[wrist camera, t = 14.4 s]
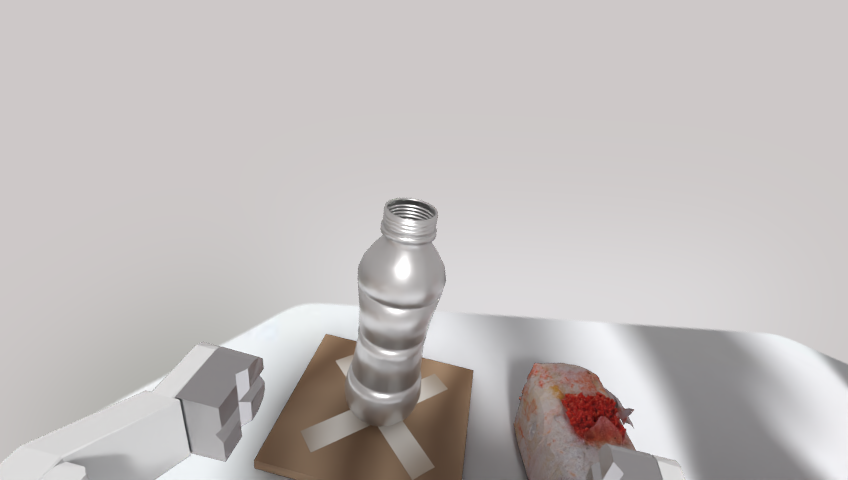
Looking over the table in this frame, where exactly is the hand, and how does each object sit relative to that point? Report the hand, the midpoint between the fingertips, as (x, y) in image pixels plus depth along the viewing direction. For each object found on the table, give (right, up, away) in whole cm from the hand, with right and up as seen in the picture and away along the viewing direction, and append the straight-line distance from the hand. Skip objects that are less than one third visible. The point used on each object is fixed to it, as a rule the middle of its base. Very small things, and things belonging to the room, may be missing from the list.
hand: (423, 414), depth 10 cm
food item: (+12, -17, +27) cm, 34 cm away
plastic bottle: (-4, -11, +30) cm, 32 cm away
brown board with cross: (-4, -12, +30) cm, 32 cm away
